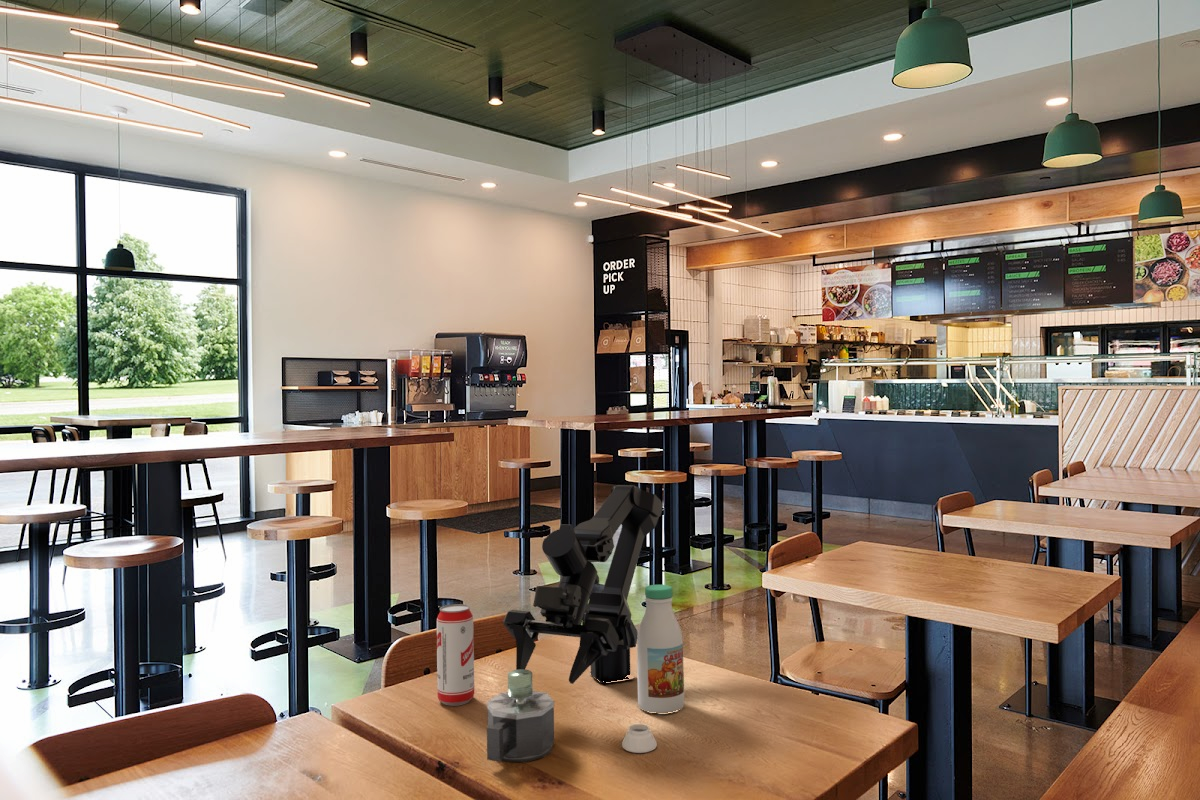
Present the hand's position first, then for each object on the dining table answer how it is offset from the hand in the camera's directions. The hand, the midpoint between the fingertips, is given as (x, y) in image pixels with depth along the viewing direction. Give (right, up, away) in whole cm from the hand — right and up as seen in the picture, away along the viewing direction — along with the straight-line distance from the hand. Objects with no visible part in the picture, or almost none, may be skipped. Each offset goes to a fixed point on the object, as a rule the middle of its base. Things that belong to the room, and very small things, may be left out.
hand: (544, 678), depth 124 cm
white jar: (+15, -8, -7) cm, 18 cm away
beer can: (-16, -9, +14) cm, 23 cm away
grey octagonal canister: (-3, -8, -8) cm, 12 cm away
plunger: (-3, -7, -7) cm, 10 cm away
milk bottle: (+19, -8, +9) cm, 22 cm away
